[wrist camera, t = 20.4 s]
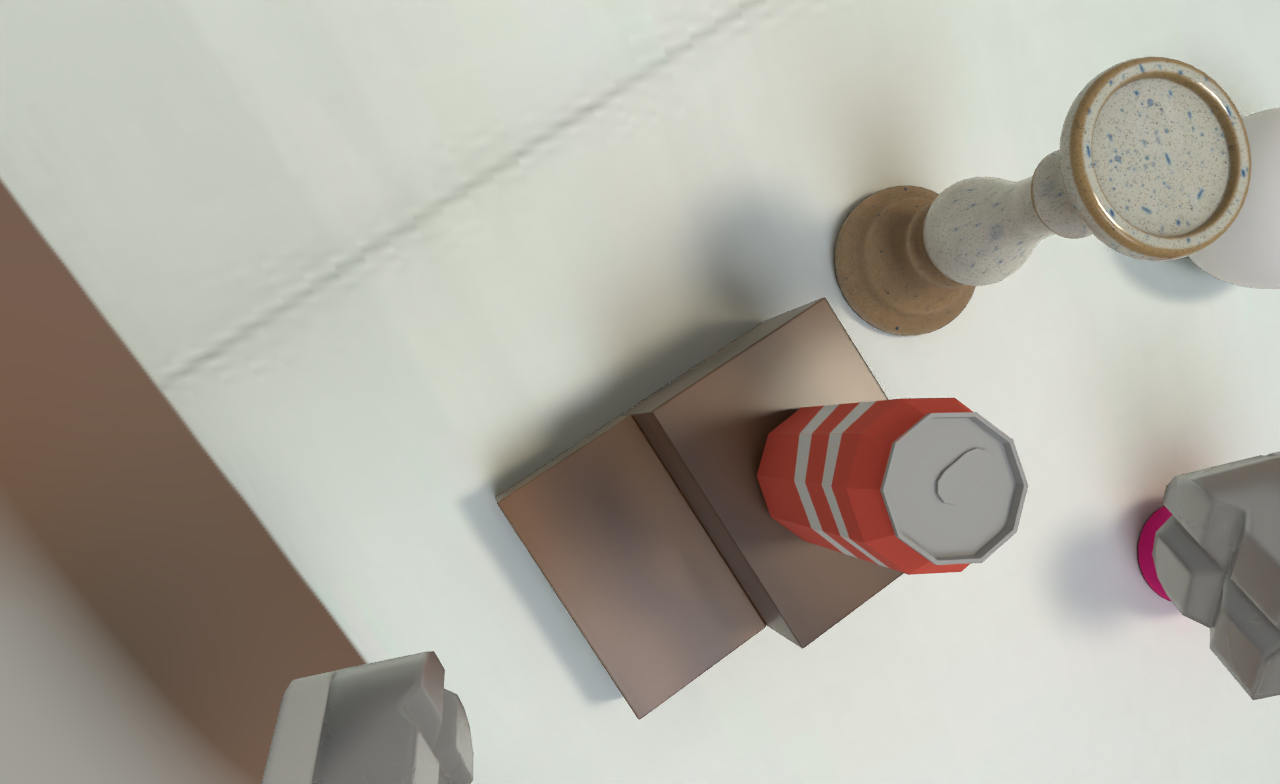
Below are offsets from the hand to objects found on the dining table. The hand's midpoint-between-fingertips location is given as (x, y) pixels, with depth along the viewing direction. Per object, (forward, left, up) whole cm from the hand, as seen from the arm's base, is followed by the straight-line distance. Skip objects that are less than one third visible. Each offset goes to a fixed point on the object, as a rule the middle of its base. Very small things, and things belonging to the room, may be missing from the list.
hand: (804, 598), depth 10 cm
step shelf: (+9, 0, -38) cm, 39 cm away
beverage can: (+12, +2, -30) cm, 32 cm away
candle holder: (+19, +16, -39) cm, 46 cm away
